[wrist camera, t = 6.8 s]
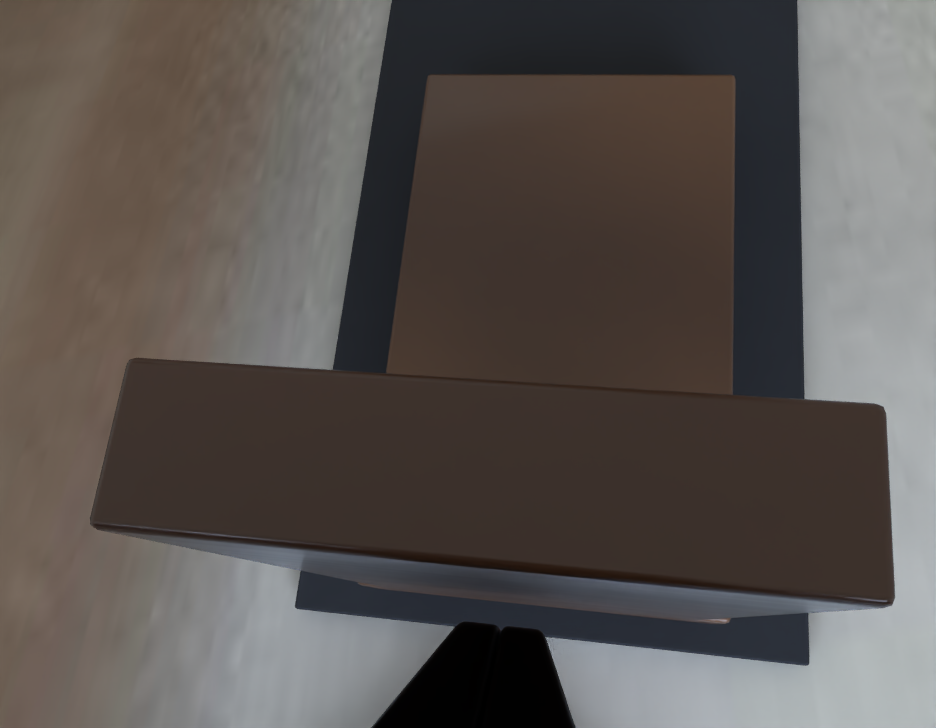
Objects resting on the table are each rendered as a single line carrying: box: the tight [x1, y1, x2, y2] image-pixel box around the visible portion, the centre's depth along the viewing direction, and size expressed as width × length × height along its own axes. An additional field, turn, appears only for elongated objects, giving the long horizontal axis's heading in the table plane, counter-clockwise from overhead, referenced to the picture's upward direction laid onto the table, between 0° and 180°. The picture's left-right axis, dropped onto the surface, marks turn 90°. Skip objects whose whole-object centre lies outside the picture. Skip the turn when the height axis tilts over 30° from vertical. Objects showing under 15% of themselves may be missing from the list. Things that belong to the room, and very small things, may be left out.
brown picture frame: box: [90, 74, 895, 624], centre depth 11 cm, size 10×6×10 cm, turn 174°
